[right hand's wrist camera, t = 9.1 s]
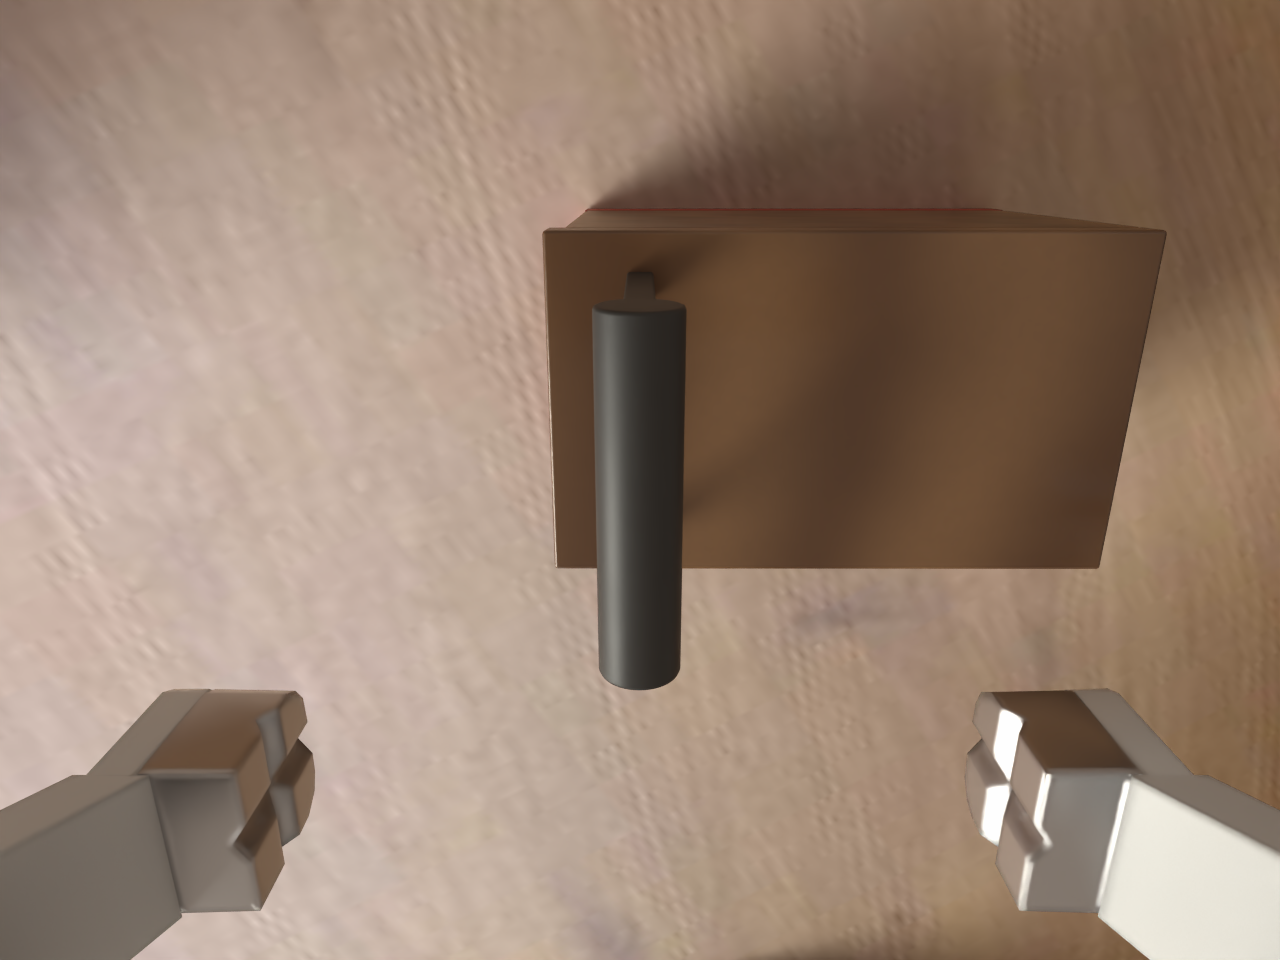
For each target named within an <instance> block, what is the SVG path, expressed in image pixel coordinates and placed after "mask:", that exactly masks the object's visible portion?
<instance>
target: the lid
mask: <svg viewBox="0 0 1280 960" xmlns="http://www.w3.org/2000/svg"><path fill="white" fill-rule="evenodd" d="M542 237H543V263H544V289H545V315H546V342H547V368H548V394H549V420H550V447H551V473H552V499H553V525H554V552H555V566H556V568H597V588H598V639H599V669H600V672H601V674H602V676H603V677H604V678H605V679H606V680H607V681H608V682H610V683H611V684H613V685H615V686H618V687H621V688H624V689H630V690H649V689H655V688H658V687H661V686H664V685H666V684H668V683H670V682H671V681H672V680H673V679H675V677H676V676H677V674H678V672H679V670H680V650H681V595H682V568H934V569H1097V568H1099V565H1100V560H1101V555H1102V550H1103V545H1104V540H1105V536H1106V531H1107V526H1108V521H1109V516H1110V511H1111V506H1112V501H1113V496H1114V491H1115V486H1116V481H1117V476H1118V471H1119V466H1120V461H1121V456H1122V452H1123V447H1124V442H1125V437H1126V432H1127V427H1128V422H1129V417H1130V412H1131V407H1132V402H1133V397H1134V392H1135V387H1136V382H1137V377H1138V373H1139V368H1140V363H1141V358H1142V353H1143V348H1144V343H1145V338H1146V333H1147V328H1148V323H1149V318H1150V313H1151V308H1152V303H1153V298H1154V294H1155V289H1156V284H1157V279H1158V274H1159V269H1160V264H1161V259H1162V254H1163V249H1164V244H1165V239H1166V231H1164V230H1158V229H1150V228H548V229H546V230H545V231H543V234H542Z"/></svg>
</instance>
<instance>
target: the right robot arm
mask: <svg viewBox="0 0 1280 960" xmlns="http://www.w3.org/2000/svg"><path fill="white" fill-rule="evenodd" d="M306 723H307V717H306V712H305V707H304V702H303V698H302V697H301V696H300V695H299V694H298V693H297V692H296V691H274V690H226V689H215V690H210V689H173V690H169V691H166V692H163V693H162V694H161V695H160V696H159V697H158V698H157V699H156V700H155V701H154V702H153V703H152V704H151V705H150V706H149V708H148V709H147V710H146V711H145V712H144V713H143V714H142V715H141V716H140V717H139V718H138V719H137V721H136V722H135V723H134V724H133V725H132V726H131V727H130V728H129V729H128V730H127V731H126V732H125V734H124V735H123V736H122V737H121V738H120V739H119V740H118V741H117V742H116V743H115V744H114V746H113V747H112V748H111V749H110V750H109V751H108V752H107V753H106V754H105V755H104V756H103V757H102V759H101V760H100V761H99V762H98V763H97V764H96V765H95V766H94V767H93V768H92V769H91V770H90V772H89V773H88V774H87V775H72V776H70V777H68V778H66V779H63V780H61V781H59V782H57V783H55V784H53V785H51V786H49V787H47V788H45V789H43V790H41V791H39V792H37V793H35V794H33V795H31V796H29V797H27V798H24V799H22V800H20V801H18V802H16V803H14V804H12V805H10V806H8V807H6V808H4V809H2V810H0V960H131V959H132V958H133V957H134V956H136V955H137V954H138V953H139V952H140V951H142V950H143V949H144V948H145V947H146V946H148V945H149V944H150V943H151V942H152V941H154V940H155V939H156V938H157V937H159V936H160V935H161V934H162V933H163V932H165V931H166V930H167V929H168V928H169V927H171V926H172V925H173V924H174V923H175V922H177V921H178V920H179V919H180V918H181V917H182V914H181V913H197V912H231V911H261V909H262V907H263V905H264V903H265V901H266V899H267V897H268V895H269V893H270V891H271V889H272V887H273V885H274V884H275V882H276V880H277V878H278V876H279V874H280V872H281V870H282V868H283V866H284V864H285V863H284V857H283V851H282V846H284V845H285V844H287V843H288V842H290V841H291V840H292V839H294V838H295V837H297V836H298V835H300V833H301V831H302V829H303V827H304V825H305V822H306V820H307V818H308V816H309V813H310V808H311V804H312V800H313V795H314V791H315V768H314V761H313V754H312V752H311V751H310V750H309V749H308V748H307V747H306V746H305V745H304V744H303V743H302V742H301V741H300V740H299V739H298V737H299V735H300V734H301V732H302V730H303V728H304V727H305V725H306ZM973 723H974V725H975V727H976V728H977V730H978V732H979V734H980V735H981V737H982V739H981V740H980V741H979V742H978V743H977V744H976V745H975V746H974V747H973V748H972V749H971V750H970V751H969V752H968V754H967V762H966V771H965V785H966V795H967V802H968V805H969V809H970V812H971V816H972V818H973V821H974V823H975V825H976V827H977V829H978V831H979V833H980V835H982V836H983V837H985V838H986V839H988V840H989V841H991V842H992V843H993V844H995V845H996V846H998V851H997V857H996V863H995V864H996V866H997V868H998V870H999V872H1000V874H1001V876H1002V878H1003V880H1004V882H1005V883H1006V885H1007V887H1008V889H1009V891H1010V893H1011V895H1012V897H1013V899H1014V901H1015V903H1016V905H1017V906H1018V908H1019V910H1020V911H1047V912H1083V913H1099V914H1098V917H1099V918H1100V919H1101V920H1103V921H1104V922H1105V923H1106V924H1107V925H1109V926H1110V927H1111V928H1112V929H1113V930H1115V931H1116V932H1117V933H1118V934H1119V935H1121V936H1122V937H1123V938H1124V939H1125V940H1127V941H1128V942H1129V943H1130V944H1132V945H1133V946H1134V947H1135V948H1136V949H1138V950H1139V951H1140V952H1141V953H1142V954H1144V955H1145V956H1146V957H1147V958H1148V959H1150V960H1280V810H1278V809H1276V808H1274V807H1272V806H1270V805H1268V804H1266V803H1264V802H1262V801H1260V800H1257V799H1255V798H1253V797H1251V796H1249V795H1247V794H1245V793H1243V792H1241V791H1239V790H1237V789H1235V788H1233V787H1231V786H1229V785H1227V784H1225V783H1223V782H1221V781H1219V780H1216V779H1214V778H1212V777H1210V776H1208V775H1193V774H1192V773H1191V772H1190V770H1189V769H1188V768H1187V767H1186V766H1185V765H1184V764H1183V763H1182V762H1181V761H1180V760H1179V759H1178V757H1177V756H1176V755H1175V754H1174V753H1173V752H1172V751H1171V750H1170V749H1169V748H1168V747H1167V745H1166V744H1165V743H1164V742H1163V741H1162V740H1161V739H1160V738H1159V737H1158V736H1157V735H1156V734H1155V732H1154V731H1153V730H1152V729H1151V728H1150V727H1149V726H1148V725H1147V724H1146V723H1145V722H1144V720H1143V719H1142V718H1141V717H1140V716H1139V715H1138V714H1137V713H1136V712H1135V711H1134V710H1133V709H1132V707H1131V706H1130V705H1129V704H1128V703H1127V702H1126V701H1125V700H1124V699H1123V698H1122V697H1121V696H1120V694H1119V693H1117V692H1114V691H1112V690H1110V689H1108V688H1107V689H1078V690H1065V691H1018V692H981V694H980V696H979V698H978V700H977V702H976V705H975V710H974V716H973Z"/></svg>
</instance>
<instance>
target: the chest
mask: <svg viewBox="0 0 1280 960" xmlns="http://www.w3.org/2000/svg"><path fill="white" fill-rule="evenodd" d="M566 228H1139V227H1133V226H1125V225H1117V224H1109V223H1100V222H1092V221H1084V220H1076V219H1067V218H1059V217H1051V216H1042V215H1034V214H1026V213H1018V212H1009V211H1003V210H997V209H587V210H585V213H583V214H582V215H581V216H580V217H578V218H577V219H576V220H575V221H573V222H572V223H571V224H569V225H568V226H567V227H566Z"/></svg>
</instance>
